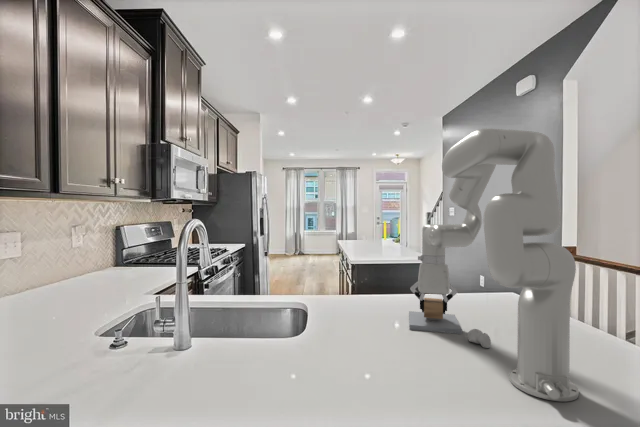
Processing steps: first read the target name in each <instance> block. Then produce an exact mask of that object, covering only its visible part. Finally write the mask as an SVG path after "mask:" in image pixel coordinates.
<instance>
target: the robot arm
mask: <svg viewBox="0 0 640 427" xmlns="http://www.w3.org/2000/svg"><path fill="white" fill-rule="evenodd" d="M555 160H556V156H555V147H554V143H553V141H552V140H551V138H550V137H548V136H547V135H546V134H543V133H541V132H538V131H537V132H536V131H529V130H519V129H502V128H501V129H500V128H487V127H486V128H479V129H477V130H474V131H473V132H471V133H470V134H467V136H465V137H464V138H462V139H461V140H460V141H458V142H457V143H455V144H453V145H452V146H451V147H450V148H449V149H448V150H447V152H446V153H445V155H444V157H443V159H442V160H441V161H442V162H441V170H442V172H443V175H444V176H445V177H446V178H451V179H454V182H453V185H452V186H451V189H450V190H449V193H448V197H449V199H450V201H451V202H452V203H453V204H454V205H456V206H458V207H459V208H461V209H464V210H466V213H465V217H464V218H463V221H462V223H460V224H459V223H458V224H457V223H455V224H451V223H450V224H437V223H436V224H433V223H431V224H428V223H427V224H424V225H423V226H422V228H421V232H422V234H421V236H422V239H421V240H422V241H421V246H422V247H421V255H417V260H418V261H421V262H420V263H419V268H418V278H417V281H416V282H415V283H414V284H413V285H411V286H410V288H409V289H410V291H411V292H412V293H413V294H414V295H415V296H416V298H417V299H418V301H419V309H420V310H421V312H424V298H425V296H426V294H427V295H442V301H443V314H446V312H447V311H448V302H449V301H450V300H451V299H452V298H453V297H454V296H456V295H457V294H458V290H457V289H456V288H455V287H454V286H453V285H452V284H451V283H450V273H449V265H448V264H446V248H447V249H449V248H450V249H451V248H466V247H467V248H468V247H469V246H471V245H472V244H473V243H474V241H475V239H476V238H477V236H478V235H479V232H480V230H481V228H482V220H483V231H484V232H483V233H484V240H485V241H484V242H485V250H486V252H485V253H486V259H487V260H486V261H487V267H488V271H489V274H490V276H491V278H492V279H493V280H494V282H495V283H496V284H498V285H499V286H501V287H504V288H509V289H518V288H519V289H520V288H522V289H521V291H520V294H519V297H518V300H517V357H516V358H517V364H516V365H517V367H516V368H515V369H512V370H511V371H510V372H509V381H510V382H511V384H512V385H513V386H514V387H516V388H517V389H519V390H520V391H522V392H524V393H526V394H528V395H531V396H533V397H537V398H539V399H543V400H548V401H553V402H572V401H575V400H577V399H578V398H579V396H580V394H579V392H580V391H579V388H578V386H577V385H576V384H575V383H573V381H571V380H570V374H571V373H570V367H571V366H570V365H571V364H570V358H571V357H570V348H571V347H570V344H571V343H570V342H571V341H570V339H571V338H570V337H571V336H570V335H571V334H570V328H571V326H570V325H571V324H570V322H571V320H570V319H571V300H572V299H571V296H572V290H573V286H574V282H575V277H576V273H577V266H576V265H577V264H576V260H575V257H574V256H573V254H572V253H571V251H570V250H568V249H567V248H565V247H564V246H562V245H560V244H559V243H553V242H546V241H545V242H544V241H542V242H541V241H539V242H538V241H537V242H524V237H542V236H543V237H544V236H548V235H552V234H554V233H556V232H557V230H558V229H559V228H560V226H561V222H562V221H561V219H562V218H561V208H560V202H559V194H558V186H557V180H556V173H555V162H556V161H555ZM497 165H498V166H499V165H507V166H515V167H514V170H513V172H512V173H511V180H510V182H511V190H512V191H511V192H512V193H501V194H498V195H497V194H496V195H495V196H493V197H491V199H490V200H489V201H488V202H487V204H486V206H485V208H484V211H483V212H484V213H483V217H482V211H481V209H480V207H479V202H480V200H481V198H482V196H483V194H484V192H485V189H486V188H487V186H488V184H489V181H490V179H491V177H492V175H493V173H494V171H495V169H496V166H497ZM482 218H483V219H482ZM416 289H418V291H417V290H416ZM450 291H451V292H450Z"/></svg>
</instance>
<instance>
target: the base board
mask: <svg viewBox="0 0 640 427" xmlns="http://www.w3.org/2000/svg"><path fill="white" fill-rule="evenodd" d="M408 317H409V318H408V322H409V323H408V325H409V326H408V328H409V329H408V330H412V331H413V330H414V331H425V332H436V333H446V334H458V335H459V334H460V335H462V334H463V329H462V327H461V325H460V323H459V321H458V319H457V317H456V314H452V313H451V314H449V313H445V314H443V319H437V318H426V317H424V312H422V311H411V310H410V311H408Z"/></svg>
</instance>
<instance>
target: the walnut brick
mask: <svg viewBox="0 0 640 427" xmlns="http://www.w3.org/2000/svg"><path fill="white" fill-rule="evenodd" d="M424 317H426V318H437V319H443V298H432V297H424Z"/></svg>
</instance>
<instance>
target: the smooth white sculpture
mask: <svg viewBox="0 0 640 427" xmlns="http://www.w3.org/2000/svg"><path fill="white" fill-rule="evenodd" d="M466 336H467V337H466V338H467V339H468V341H469V343H470V342H471V343H473V344H479V345H481V347H483V348H484V349H488V348H490V347H491V346H492V340H491V337H490V336H489V335H488V333H486V332H483V331H482V330H481V329H478V328H473V329H471V330H469V331H468V332H467V335H466Z"/></svg>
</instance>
